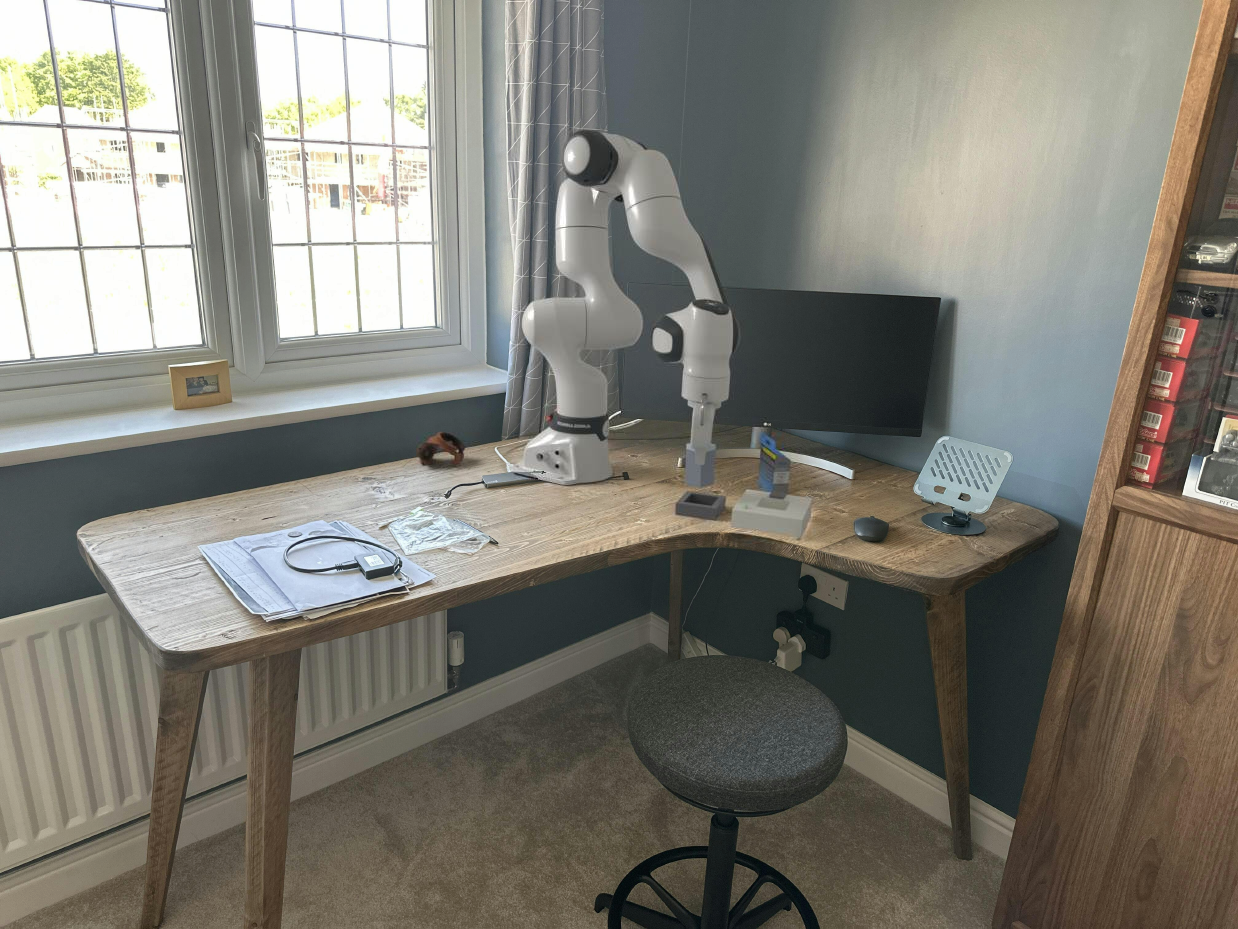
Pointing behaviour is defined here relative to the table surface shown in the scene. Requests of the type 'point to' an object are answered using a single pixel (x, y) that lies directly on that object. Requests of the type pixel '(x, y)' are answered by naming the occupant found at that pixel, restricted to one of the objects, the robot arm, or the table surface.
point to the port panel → (772, 513)
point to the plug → (700, 468)
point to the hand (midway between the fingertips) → (700, 457)
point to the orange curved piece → (441, 439)
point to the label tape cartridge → (773, 467)
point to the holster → (700, 505)
